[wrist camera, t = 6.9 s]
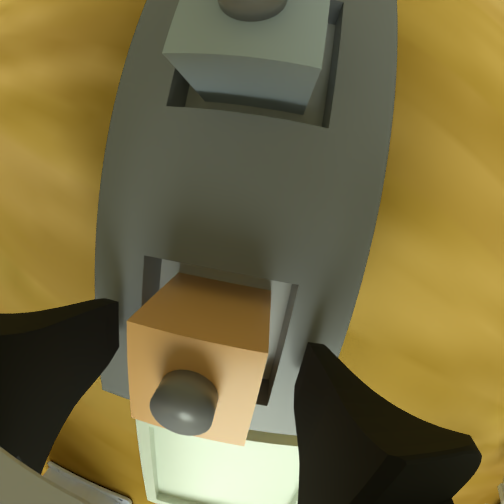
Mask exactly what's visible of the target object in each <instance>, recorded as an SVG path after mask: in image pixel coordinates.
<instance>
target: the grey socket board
mask: <svg viewBox="0 0 504 504" xmlns="http://www.w3.org/2000/svg"><path fill="white" fill-rule="evenodd" d="M178 3H179V0H147V1H146V3H145V6H144V8H143V11H142V14H141V16H140V19H139V22H138V24H137V27H136V30H135V33H134V36H133V39H132V42H131V45H130V48H129V51H128V55H127V58H126V61H125V65H124V68H123V72H122V75H121V79H120V83H119V87H118V91H117V95H116V99H115V103H114V108H113V112H112V117H111V122H110V127H109V132H108V138H107V143H106V149H105V155H104V162H103V169H102V176H101V184H100V193H99V203H98V214H97V228H96V247H95V299H101V298H107V299H110V300H114V301H117V302H119V346H120V347H119V348H118V350H117V352H116V354H115V355H114V357H113V359H112V360H111V362H110V363H109V365H108V366H107V367H106V369H105V370H104V371H103V372H102V373H101V382H102V390H105V391H107V392H110V393H113V394H115V395H118V396H121V397H124V398H126V399H129V400H130V396H129V381H128V362H127V320H128V319H129V318H130V317H131V316H132V315H133V314H134V313H135V312H137V311H138V310H139V309H140V308H141V307H142V306H143V305H144V304H145V303H146V302H147V301H148V300H149V299H150V298H151V297H152V296H153V295H155V294H156V293H157V292H158V291H159V290H160V289H161V288H162V287H163V286H164V285H165V284H166V283H167V282H169V281H170V280H171V279H172V278H173V277H174V276H175V275H176V274H177V273H178V272H180V273H185V274H190V275H195V276H199V277H204V278H209V279H214V280H219V281H224V282H229V283H234V284H239V285H245V286H250V287H255V288H260V289H266V290H271V310H270V332H269V352H268V357H267V361H266V365H265V370H264V374H263V378H262V381H261V385H260V389H259V393H258V397H257V401H256V405H255V409H254V412H253V416H252V420H251V423H250V427H249V430H256V431H263V432H270V433H278V434H286V435H296V436H297V434H296V425H295V416H294V385H295V382H296V379H297V376H298V373H299V370H300V366H301V363H302V360H303V356H304V353H305V350H306V346H307V343H308V342H312V343H319V344H324V345H326V346H327V347H328V348H329V349H330V350H331V351H332V352H333V353H334V354H335V355H336V356H337V357H338V356H339V353H340V350H341V347H342V345H343V342H344V339H345V335H346V332H347V329H348V326H349V323H350V320H351V317H352V313H353V310H354V307H355V303H356V300H357V296H358V293H359V289H360V286H361V282H362V278H363V275H364V271H365V267H366V263H367V259H368V255H369V251H370V247H371V243H372V238H373V234H374V229H375V225H376V220H377V215H378V210H379V205H380V200H381V195H382V189H383V183H384V178H385V172H386V165H387V159H388V152H389V144H390V137H391V128H392V119H393V110H394V98H395V85H396V68H397V0H330V6H329V15H328V23H327V32H326V40H325V47H324V55H323V62H322V69H321V72H320V74H319V77H318V79H317V82H316V84H315V87H314V89H313V92H312V94H311V97H310V99H309V102H308V104H307V107H306V109H305V112H304V114H303V115H300V114H294V113H289V112H283V111H278V110H272V109H265V108H259V107H252V106H244V105H236V104H227V103H218V102H207V101H204V100H203V99H202V98H201V96H200V95H199V94H198V93H197V92H196V91H195V89H194V88H193V87H192V86H191V85H190V84H189V83H188V81H187V80H186V79H185V78H184V77H183V76H182V75H181V74H180V73H179V71H178V70H177V69H176V68H175V67H174V66H173V65H172V64H171V63H170V61H169V60H168V59H167V58H166V57H165V56H164V55H163V54H162V52H163V49H164V45H165V42H166V39H167V35H168V32H169V29H170V26H171V23H172V20H173V17H174V14H175V11H176V8H177V6H178Z"/></svg>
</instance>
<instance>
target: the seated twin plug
mask: <svg viewBox="0 0 504 504" xmlns="http://www.w3.org/2000/svg"><path fill="white" fill-rule="evenodd" d="M329 6H330V0H179V3H178V6H177V8H176V11H175V14H174V17H173V20H172V23H171V26H170V29H169V32H168V35H167V39H166V42H165V45H164V49H163V52H162V54H163V55H164V56H165V57H166V58H167V59H168V60H169V61H170V63H171V64H172V65H173V66H174V67H175V68H176V69H177V70H178V71H179V73H180V74H181V75H182V76H183V77H184V78H185V79H186V80H187V81H188V83H189V84H190V85H191V86H192V87H193V88H194V89H195V91H196V92H197V93H198V94H199V95H200V96H201V98H202V99H203V100H204V101H207V102H218V103H227V104H236V105H244V106H252V107H259V108H265V109H272V110H278V111H283V112H289V113H294V114H300V115H303V114H304V112H305V109H306V107H307V104H308V102H309V99H310V97H311V94H312V92H313V89H314V87H315V84H316V82H317V79H318V77H319V74H320V72H321V69H322V62H323V55H324V47H325V40H326V32H327V23H328V15H329Z"/></svg>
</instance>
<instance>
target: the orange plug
mask: <svg viewBox="0 0 504 504" xmlns="http://www.w3.org/2000/svg"><path fill="white" fill-rule="evenodd" d="M270 310H271V290H266V289H260V288H255V287H250V286H245V285H239V284H234V283H229V282H224V281H219V280H214V279H209V278H204V277H199V276H195V275H190V274H185V273H180V272H178V273H177V274H176V275H175V276H174V277H173V278H172V279H171V280H170V281H169V282H167V283H166V284H165V285H164V286H163V287H162V288H161V289H160V290H159V291H158V292H157V293H156V294H155V295H153V296H152V297H151V298H150V299H149V300H148V301H147V302H146V303H145V304H144V305H143V306H142V307H141V308H140V309H139V310H138V311H137V312H135V313H134V314H133V315H132V316H131V317H130V318H129V319H128V320H127V362H128V381H129V396H130V407H131V418H134V419H137V420H140V421H143V422H146V423H149V424H152V425H155V426H159V427H162V428H165V429H168V430H169V431H172V432H174V433H177V434H180V435H186V436H196V437H200V438H204V439H209V440H213V441H218V442H223V443H228V444H234V445H239V446H244V445H245V442H246V438H247V434H248V431H249V427H250V423H251V420H252V416H253V412H254V409H255V405H256V401H257V397H258V393H259V389H260V385H261V381H262V378H263V374H264V370H265V365H266V361H267V357H268V352H269V332H270Z"/></svg>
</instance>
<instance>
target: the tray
mask: <svg viewBox="0 0 504 504" xmlns="http://www.w3.org/2000/svg"><path fill="white" fill-rule="evenodd" d="M136 427H137V436H138V444H139V452H140V459H141V466H142V472H143V478H144V484H145V489H146V495H147V500H148V501H151V502H154V503H158V504H298V489H299V452H298V443H297V436H296V435H286V434H278V433H270V432H263V431H256V430H249V431H248V434H247V438H246V442H245V445H244V446H239V445H234V444H228V443H223V442H218V441H213V440H209V439H204V438H200V437H196V436H186V435H180V434H177V433H174V432H172V431H169V430H168V429H165V428H162V427H159V426H155V425H152V424H149V423H146V422H143V421H140V420H137V419H136Z"/></svg>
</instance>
